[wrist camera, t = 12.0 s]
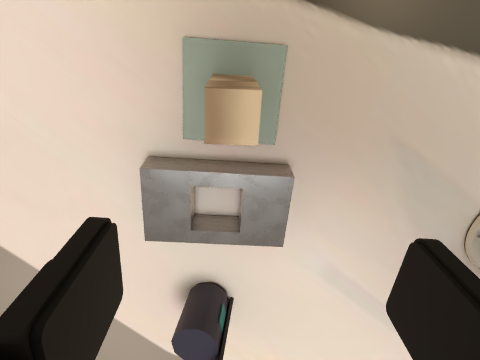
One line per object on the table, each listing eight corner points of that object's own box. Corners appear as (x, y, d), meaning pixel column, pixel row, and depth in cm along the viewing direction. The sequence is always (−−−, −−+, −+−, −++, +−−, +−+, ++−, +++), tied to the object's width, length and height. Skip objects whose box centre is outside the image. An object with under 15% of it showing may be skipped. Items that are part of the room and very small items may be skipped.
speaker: (245, 303, 43) (239, 374, 34) (217, 321, 45) (204, 393, 35) (209, 270, 41) (192, 334, 32) (181, 290, 43) (157, 357, 34)
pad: (286, 45, 29) (287, 45, 29) (274, 143, 33) (274, 144, 33) (183, 36, 29) (182, 36, 28) (184, 137, 33) (183, 138, 32)
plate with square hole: (288, 164, 34) (294, 177, 31) (278, 229, 38) (282, 246, 35) (148, 156, 34) (139, 168, 30) (152, 223, 37) (145, 240, 34)
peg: (252, 75, 30) (262, 90, 21) (250, 115, 31) (258, 145, 22) (212, 73, 30) (204, 87, 20) (212, 114, 31) (204, 143, 22)
